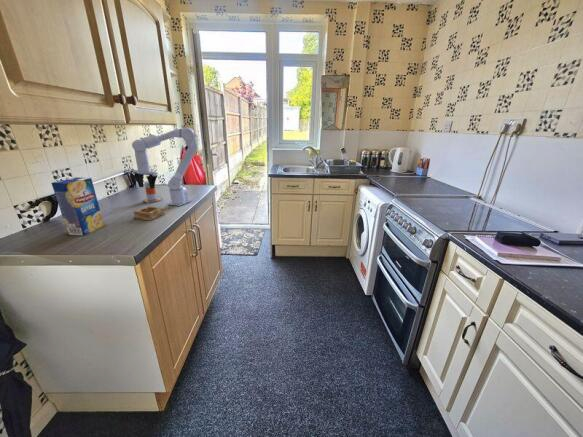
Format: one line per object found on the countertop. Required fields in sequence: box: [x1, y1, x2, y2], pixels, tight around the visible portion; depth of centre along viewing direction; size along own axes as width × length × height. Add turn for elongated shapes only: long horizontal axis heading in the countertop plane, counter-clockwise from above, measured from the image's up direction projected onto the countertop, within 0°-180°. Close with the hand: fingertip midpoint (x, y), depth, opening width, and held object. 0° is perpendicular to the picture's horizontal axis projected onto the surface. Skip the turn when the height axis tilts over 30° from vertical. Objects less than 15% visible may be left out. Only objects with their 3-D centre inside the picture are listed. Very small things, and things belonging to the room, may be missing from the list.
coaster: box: [143, 197, 162, 204], centre depth 150 cm, size 9×9×1 cm
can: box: [143, 180, 158, 201], centre depth 148 cm, size 5×5×11 cm
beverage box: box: [51, 176, 105, 236], centre depth 103 cm, size 7×11×22 cm, turn 176°
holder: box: [133, 205, 165, 221], centre depth 124 cm, size 9×9×4 cm
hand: (147, 187), depth 137 cm, fingers open, 7 cm apart
